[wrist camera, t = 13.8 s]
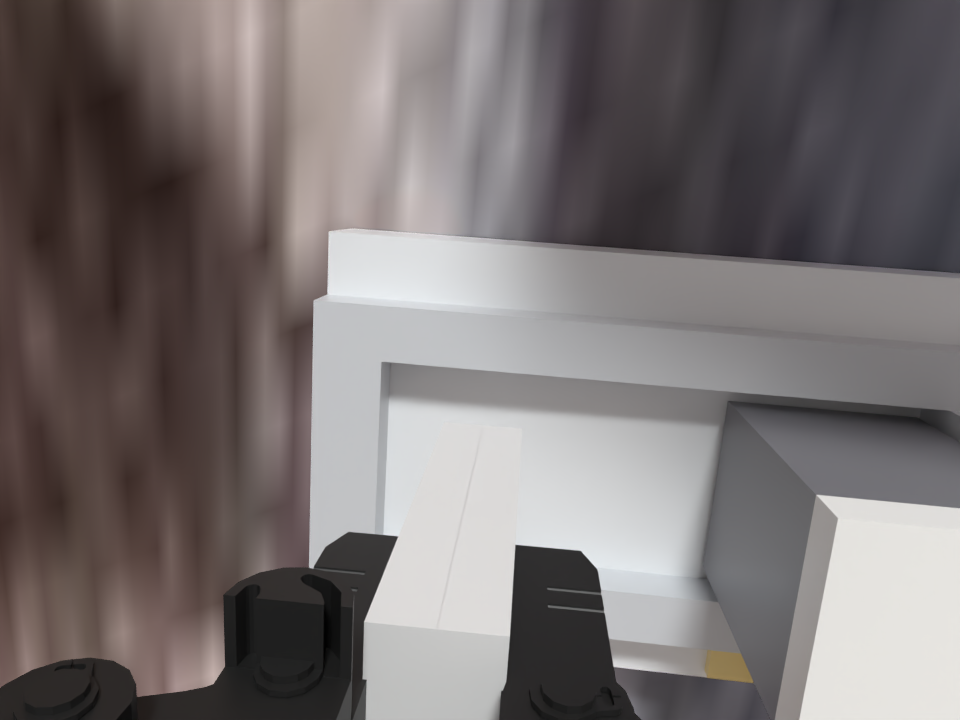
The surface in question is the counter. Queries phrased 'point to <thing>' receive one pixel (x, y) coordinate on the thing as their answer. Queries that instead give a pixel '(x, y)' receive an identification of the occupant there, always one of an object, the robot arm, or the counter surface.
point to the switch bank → (604, 395)
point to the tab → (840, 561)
